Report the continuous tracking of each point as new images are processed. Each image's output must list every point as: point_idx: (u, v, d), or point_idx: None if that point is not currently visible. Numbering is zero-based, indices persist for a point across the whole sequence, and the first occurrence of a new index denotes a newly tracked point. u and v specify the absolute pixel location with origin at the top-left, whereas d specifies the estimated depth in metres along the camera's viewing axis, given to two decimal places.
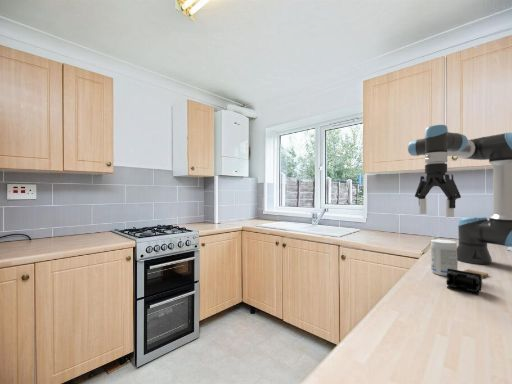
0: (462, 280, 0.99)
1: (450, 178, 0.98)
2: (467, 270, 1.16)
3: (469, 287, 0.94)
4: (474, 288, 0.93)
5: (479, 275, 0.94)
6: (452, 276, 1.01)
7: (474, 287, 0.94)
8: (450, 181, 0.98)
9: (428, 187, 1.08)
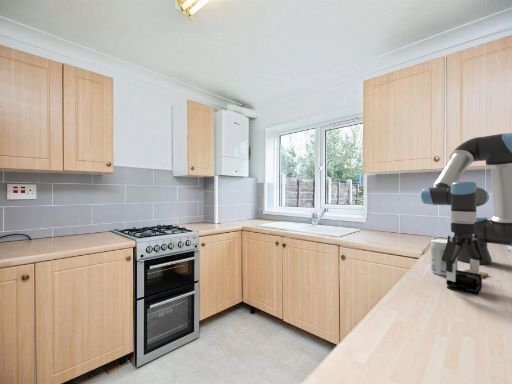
0: (462, 280, 0.99)
1: (451, 240, 0.94)
2: (467, 270, 1.16)
3: (469, 287, 0.94)
4: (474, 288, 0.93)
5: (479, 275, 0.94)
6: None
7: (474, 287, 0.94)
8: (448, 243, 0.94)
9: (467, 247, 0.98)
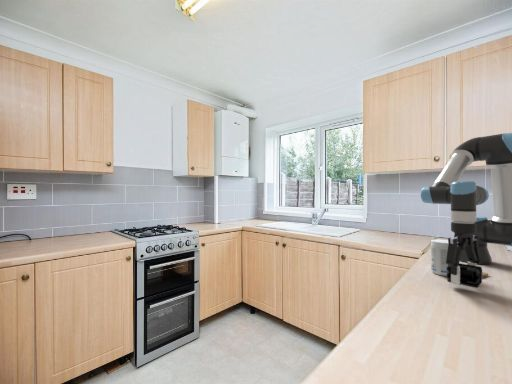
0: (462, 273, 0.99)
1: (451, 243, 0.94)
2: None
3: (469, 280, 0.94)
4: (474, 281, 0.93)
5: (479, 268, 0.94)
6: None
7: (474, 280, 0.94)
8: (450, 246, 0.95)
9: (466, 247, 0.98)
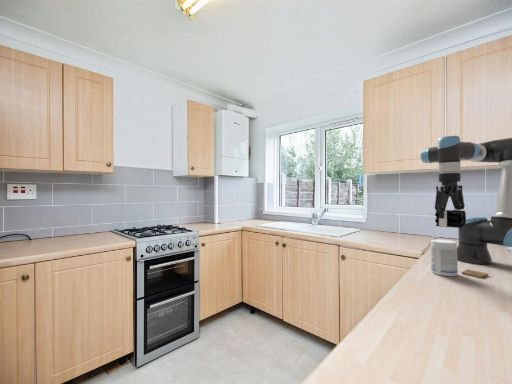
0: (449, 219, 1.12)
1: (439, 190, 1.07)
2: (467, 270, 1.16)
3: (455, 222, 1.07)
4: (459, 223, 1.06)
5: (463, 211, 1.07)
6: None
7: (459, 222, 1.07)
8: (438, 193, 1.07)
9: (452, 196, 1.11)
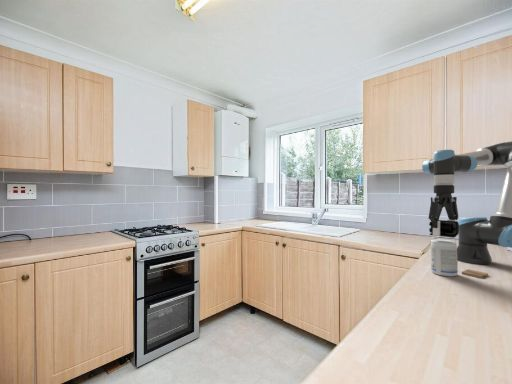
0: (443, 228, 1.17)
1: (433, 201, 1.12)
2: (467, 270, 1.16)
3: (448, 232, 1.12)
4: (452, 232, 1.11)
5: (456, 222, 1.12)
6: None
7: (452, 232, 1.12)
8: (432, 204, 1.13)
9: (446, 207, 1.16)
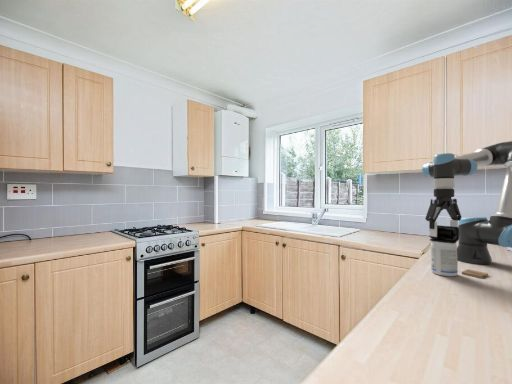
0: (443, 234, 1.17)
1: (433, 202, 1.12)
2: (467, 270, 1.16)
3: (448, 238, 1.12)
4: (452, 238, 1.11)
5: (456, 227, 1.12)
6: None
7: (452, 238, 1.12)
8: (431, 205, 1.13)
9: (447, 209, 1.16)
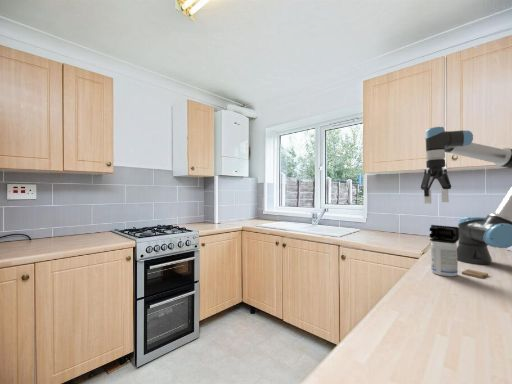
0: (443, 234, 1.17)
1: (427, 172, 1.22)
2: (467, 270, 1.16)
3: (448, 238, 1.12)
4: (452, 238, 1.11)
5: (456, 228, 1.12)
6: (435, 231, 1.19)
7: (452, 238, 1.12)
8: (425, 175, 1.22)
9: (439, 179, 1.27)
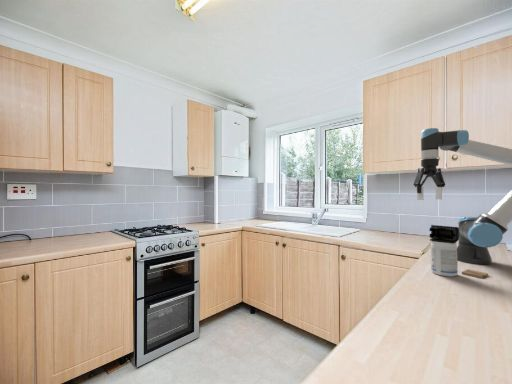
0: (443, 234, 1.17)
1: (420, 170, 1.30)
2: (467, 270, 1.16)
3: (448, 238, 1.12)
4: (452, 238, 1.11)
5: (456, 228, 1.12)
6: (435, 231, 1.19)
7: (452, 238, 1.12)
8: (418, 173, 1.31)
9: (433, 177, 1.34)
